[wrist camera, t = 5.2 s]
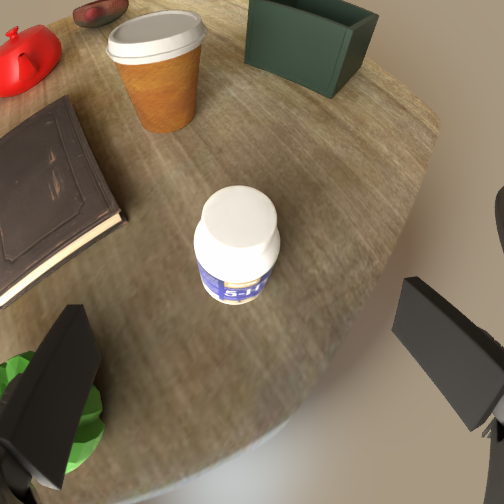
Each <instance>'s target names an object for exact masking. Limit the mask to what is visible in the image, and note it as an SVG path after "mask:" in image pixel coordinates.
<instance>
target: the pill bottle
mask: <svg viewBox="0 0 504 504" xmlns="http://www.w3.org/2000/svg"><path fill="white" fill-rule="evenodd" d="M194 248H195V254H196V258H197V262H198V267H199V271H200V275H201V279H202V282H203V285H204V287H205V288H206V290H207V291H208V293H209V294H210V295H211V296H212V297H214V298H215V299H217V300H219V301H221V302H223V303H227V304H243V303H246V302H249V301H251V300H253V299H254V298H256V297H257V296H258V295H259V294H260V293H261V292H262V291H263V289H264V287H265V285H266V283H267V281H268V278H269V276H270V274H271V272H272V269H273V267H274V264H275V262H276V260H277V257H278V254H279V250H280V235H279V231H278V228H277V213H276V209H275V207H274V205H273V203H272V202H271V200H270V199H269V198H268V197H267V196H266V195H265V194H264V193H262V192H261V191H259V190H257V189H255V188H252V187H249V186H241V185H236V186H229V187H226V188H223V189H221V190H219V191H217V192H215V193H214V194H213V195H212V196H211V197H210V198H209V199H208V200H207V202H206V203H205V205H204V208H203V211H202V219H201V220H200V222H199V224H198V225H197V228H196V231H195V235H194Z"/></svg>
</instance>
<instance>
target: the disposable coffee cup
mask: <svg viewBox="0 0 504 504" xmlns="http://www.w3.org/2000/svg"><path fill="white" fill-rule="evenodd" d="M206 34H207V27H206V26H205V25H204V24H203V22H202V18H201V16H200V15H199V14H197V13H195V12H192V11H186V10H165V11H158V12H153V13H148V14H144V15H141V16H138V17H135V18H133V19H130V20H128V21H126V22H124V23H122V24H120V25H119V26H117V27H116V28H115V29H114V30H113V31H112V32H111V33H110V35H109V44H108V45H107V48H106V52H107V54H108V55H109V56H110V57H111V58H112V60H113V61H115V64H116V66H117V68H118V71H119V73H120V75H121V78H122V80H123V83H124V85H125V87H126V90H127V92H128V94H129V96H130V99H131V101H132V103H133V105H134V108H135V110H136V112H137V114H138V117H139V119H140V121H141V123H142V125H143V127H144V128H145V129H147V130H148V131H151V132H154V133H168V132H173V131H176V130H179V129H181V128H183V127H184V126H186V125H187V124H189V123H190V122H191V120H192V119H193V117H194V115H195V105H196V93H197V82H198V73H199V63H200V54H201V44H202V42H203V40H204V37H205V35H206Z"/></svg>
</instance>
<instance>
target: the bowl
mask: <svg viewBox="0 0 504 504" xmlns="http://www.w3.org/2000/svg"><path fill="white" fill-rule="evenodd" d="M128 6H129V1H128V0H98V1H95V2H91V3H88V4H86V5H84V6H81V7H79V8H77V9H75V10H74V11H73V19H74V22H75V23H76V24H77V25H78V26H81V27H86V28H93V27H98V26H101V25H105V24H108V23H110V22H112V21H114V20H116V19H118V18H119V17H121V16H122V15H123V14H124V13H125V12H126V10H127V8H128Z"/></svg>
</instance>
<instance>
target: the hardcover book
mask: <svg viewBox="0 0 504 504" xmlns="http://www.w3.org/2000/svg"><path fill="white" fill-rule="evenodd" d="M125 223H127V220H126V218H125V216H124V214H123V212H122V210H121V209H120V207H119V205H118V203H117V201H116V199H115V197H114V195H113V193H112V191H111V189H110V187H109V185H108V183H107V181H106V179H105V177H104V175H103V173H102V171H101V169H100V166H99V164H98V162H97V160H96V158H95V156H94V154H93V151H92V149H91V147H90V145H89V143H88V140H87V138H86V136H85V133H84V131H83V129H82V126H81V124H80V122H79V119H78V117H77V114H76V112H75V109H74V107H73V105H72V103H71V100H70V97H69V95H68V94H66V95H65V96H63V97H61V98H59V99H58V100H56V101H54V102H53V103H51V104H49V105H48V106H46V107H45V108H43V109H41V110H40V111H38V112H37V113H35V114H34V115H32V116H31V117H29V118H28V119H26V120H25V121H23V122H22V123H21V124H19V125H18V126H16V127H15V128H14V129H12V130H11V131H10V132H8V133H7V134H6V135H4V136H3V137H2V138H0V309H5V308H6V307H7V306H9V305H10V304H11V303H12V302H14V301H15V300H16V299H17V298H19V297H20V296H21V295H23V294H24V293H25V292H26V291H28V290H29V289H30V288H32V287H33V286H34V285H36V284H37V283H38V282H40V281H41V280H42V279H44V278H45V277H46V276H48V275H49V274H50V273H52V272H53V271H55V270H56V269H57V268H59V267H60V266H62V265H63V264H64V263H66V262H67V261H69V260H70V259H72V258H73V257H75V256H76V255H77V254H79V253H80V252H82V251H83V250H85V249H86V248H88V247H89V246H91V245H92V244H94V243H95V242H97V241H98V240H100V239H101V238H103V237H105V236H106V235H108V234H109V233H111V232H112V231H114V230H116V229H117V228H119V227H120V226H122V225H124V224H125Z"/></svg>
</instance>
